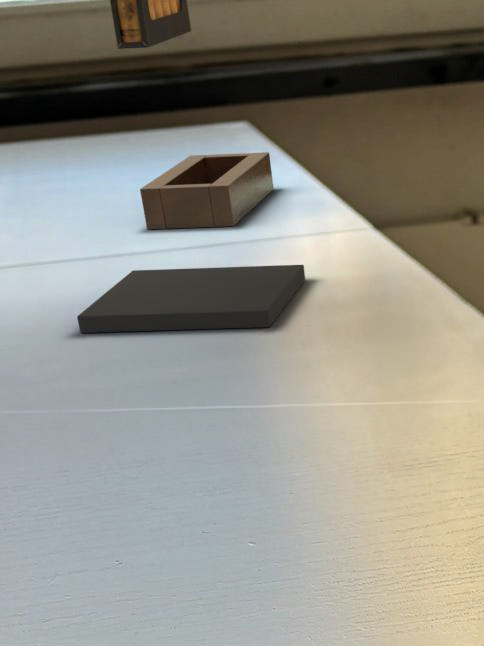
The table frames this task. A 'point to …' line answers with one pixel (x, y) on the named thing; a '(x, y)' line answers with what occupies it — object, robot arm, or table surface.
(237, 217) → the bullet clip holder
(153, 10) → the stripper clip of bullets
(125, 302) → the rubber mat
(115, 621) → the table surface
